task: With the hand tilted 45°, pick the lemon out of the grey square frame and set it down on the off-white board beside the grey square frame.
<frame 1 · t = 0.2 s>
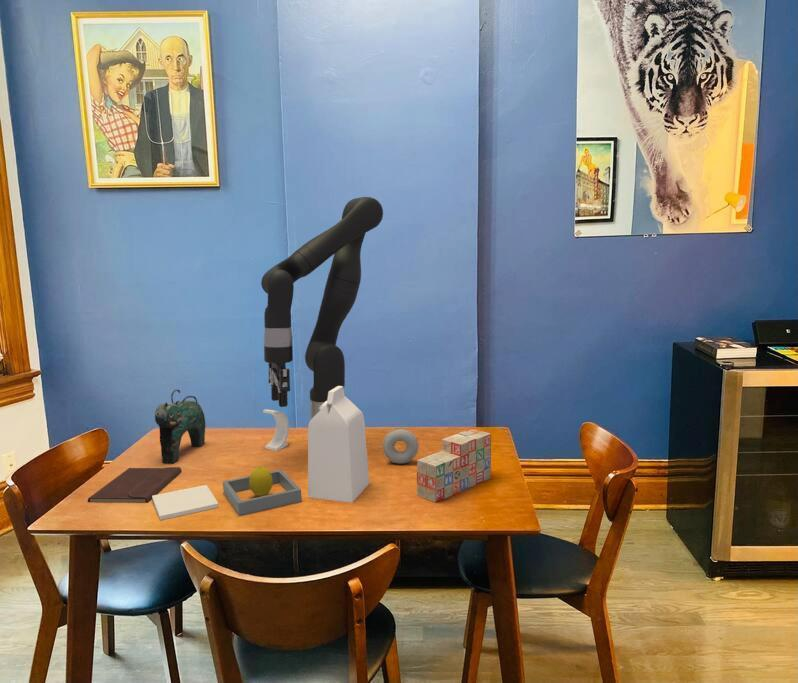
hand: (279, 403, 166), 18 cm above the table, tool pointing down, fingers open, 8 cm apart
donut: (400, 464, 170), on the table
lemon: (261, 497, 149), resting in grey square frame
grey square frame: (261, 497, 149), on the table
stack of blocks: (455, 487, 154), on the table
milk: (339, 490, 153), on the table
notebook: (137, 488, 158), on the table
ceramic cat: (183, 454, 181), on the table
board: (184, 503, 146), on the table
headphone stand: (277, 447, 186), on the table
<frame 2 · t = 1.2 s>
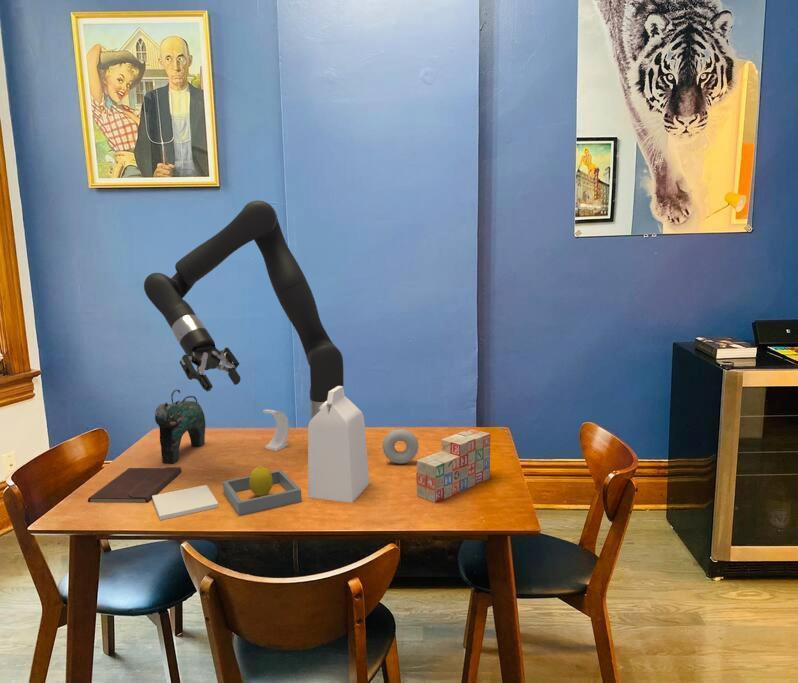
hand: (224, 386, 152), 26 cm above the table, tool tilted 45°, fingers open, 8 cm apart
nothing on the table moved.
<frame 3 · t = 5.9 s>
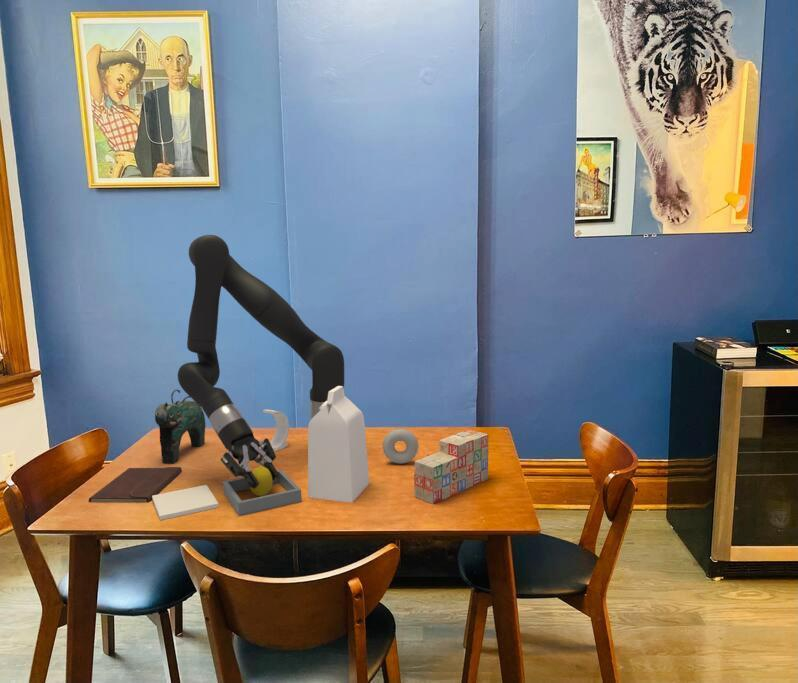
hand: (265, 482, 148), 4 cm above the table, tool tilted 45°, fingers closed on lemon, 5 cm apart
lemon: (261, 497, 149), resting in grey square frame, touching gripper
when the fingers open (6 cm above the table, at t = 11.3 s): lemon drops 1 cm, resting on board.
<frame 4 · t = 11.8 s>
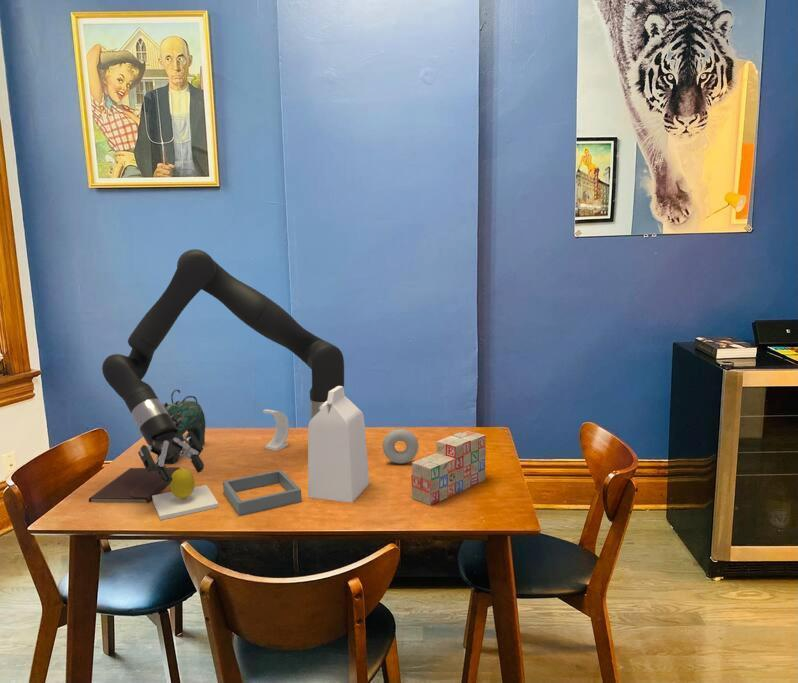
hand: (186, 476, 144), 7 cm above the table, tool tilted 45°, fingers open, 8 cm apart
lemon: (184, 500, 146), point 1 cm above the table, touching board
stack of blocks: (449, 490, 152), on the table
everything else where it was.
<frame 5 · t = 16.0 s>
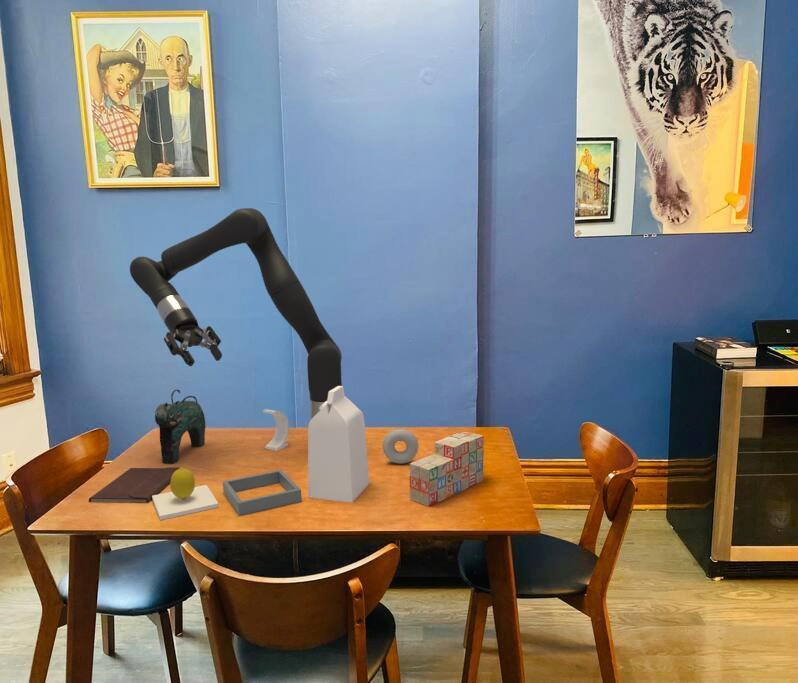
hand: (206, 361, 161), 31 cm above the table, tool tilted 45°, fingers open, 8 cm apart
at the end: lemon inside the target area on the board (0.1 cm from its centre), point 0.8 cm above the board's base; the gripper is holding nothing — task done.
